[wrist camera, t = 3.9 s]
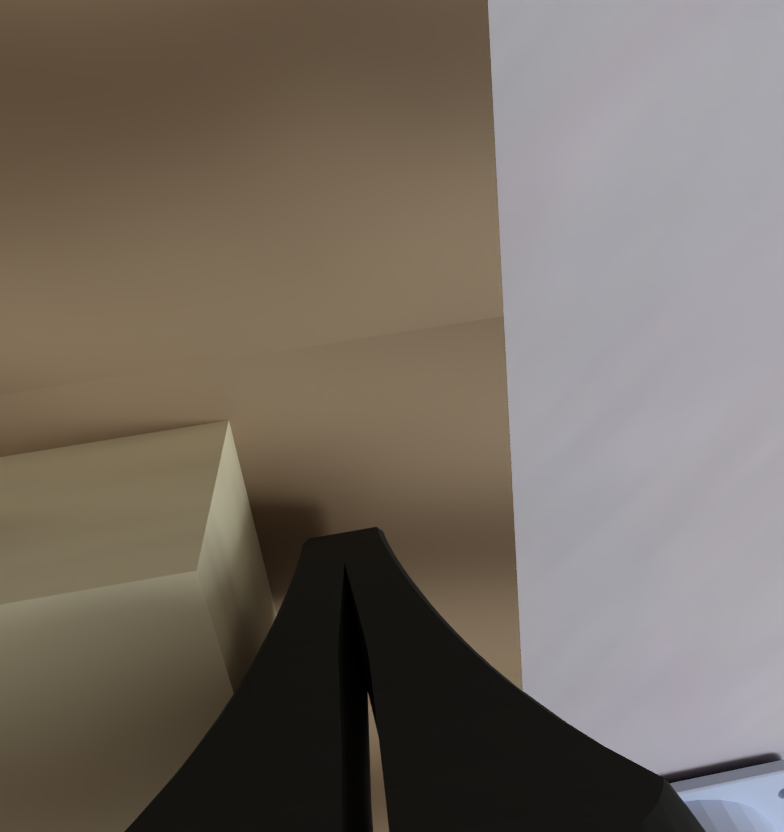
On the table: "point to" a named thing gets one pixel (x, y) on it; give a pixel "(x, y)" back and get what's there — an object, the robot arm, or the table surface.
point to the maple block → (120, 619)
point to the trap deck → (272, 269)
